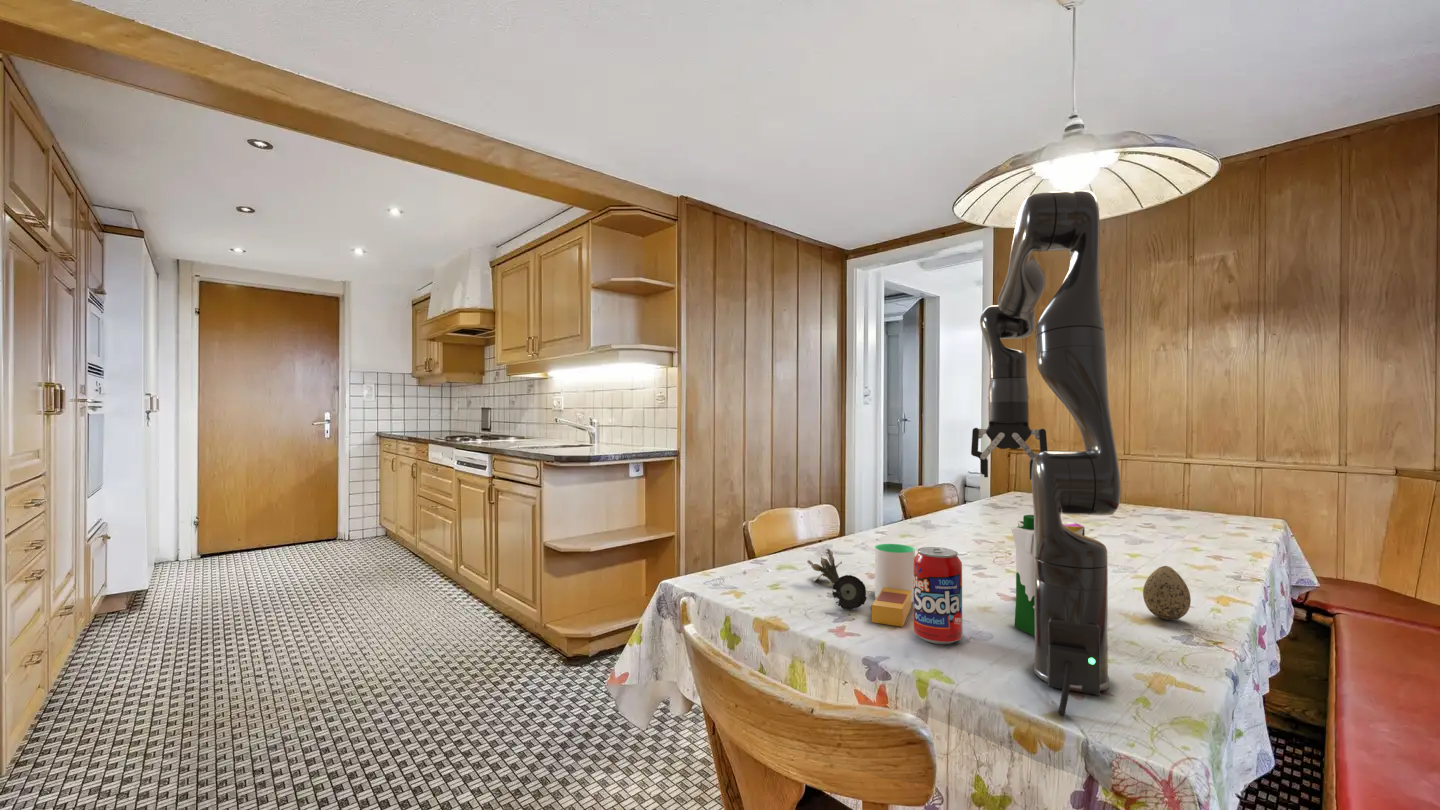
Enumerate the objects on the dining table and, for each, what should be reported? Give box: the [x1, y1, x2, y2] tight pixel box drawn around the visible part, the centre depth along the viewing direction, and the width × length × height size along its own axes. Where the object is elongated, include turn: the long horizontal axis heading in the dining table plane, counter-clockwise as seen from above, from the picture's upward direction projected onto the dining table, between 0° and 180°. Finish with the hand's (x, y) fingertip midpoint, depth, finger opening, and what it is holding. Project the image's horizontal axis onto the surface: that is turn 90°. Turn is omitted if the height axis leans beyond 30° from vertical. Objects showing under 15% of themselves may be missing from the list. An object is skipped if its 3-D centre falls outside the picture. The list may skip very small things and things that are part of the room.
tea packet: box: [871, 587, 912, 627], centre depth 114 cm, size 12×6×3 cm, turn 155°
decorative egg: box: [1142, 565, 1192, 621], centre depth 111 cm, size 7×7×10 cm
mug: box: [874, 543, 916, 604], centre depth 126 cm, size 12×8×10 cm
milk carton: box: [1011, 514, 1035, 637], centre depth 105 cm, size 9×9×20 cm
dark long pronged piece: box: [806, 548, 868, 611], centre depth 128 cm, size 9×22×10 cm, turn 179°
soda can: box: [913, 546, 963, 645], centre depth 102 cm, size 8×8×15 cm
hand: (1008, 478), depth 124 cm, fingers open, 8 cm apart
